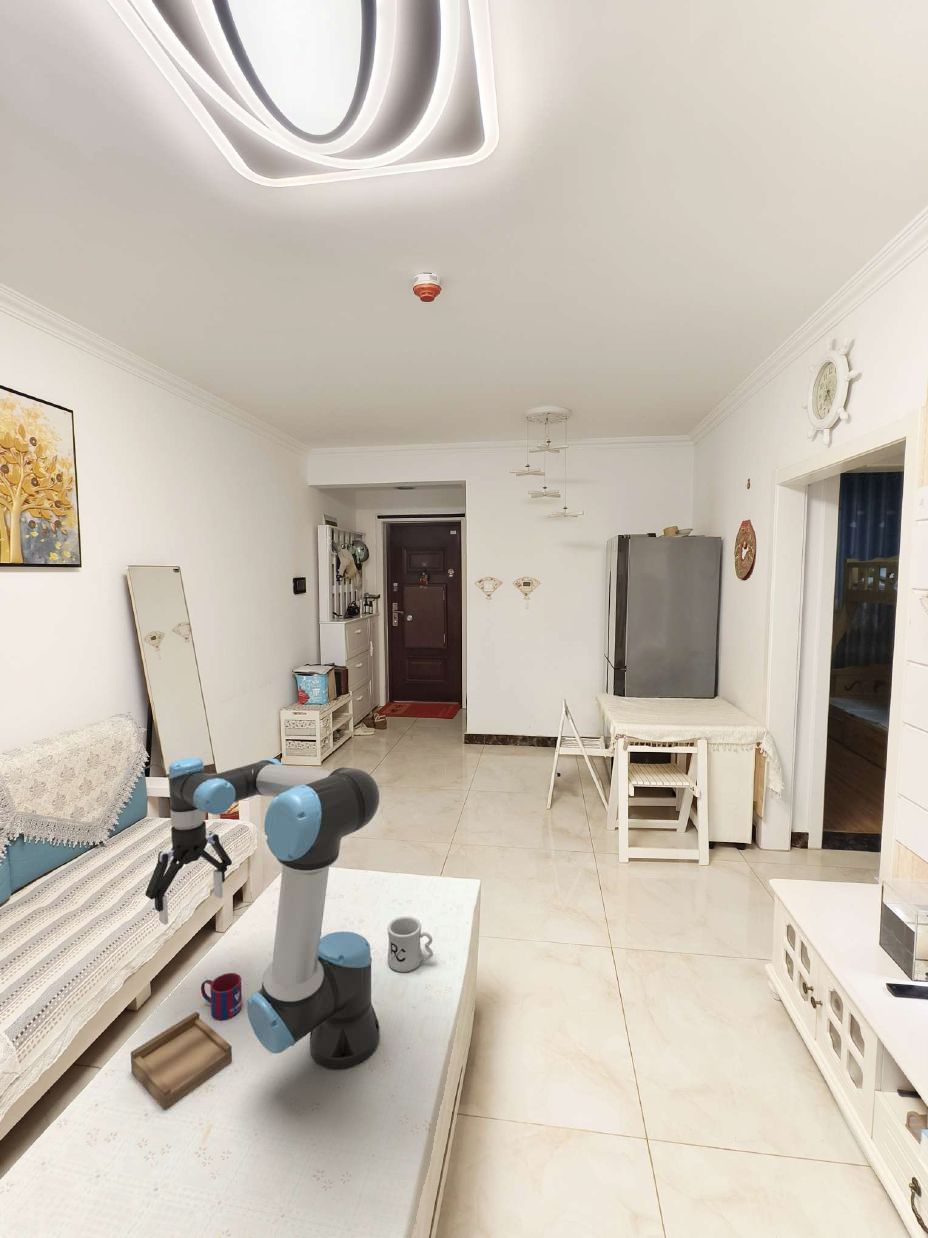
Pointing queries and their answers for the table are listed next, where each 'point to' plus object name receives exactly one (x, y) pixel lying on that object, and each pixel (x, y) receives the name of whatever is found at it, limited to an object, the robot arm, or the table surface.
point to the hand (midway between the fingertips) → (192, 909)
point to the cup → (224, 996)
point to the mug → (406, 944)
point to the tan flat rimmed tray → (180, 1059)
